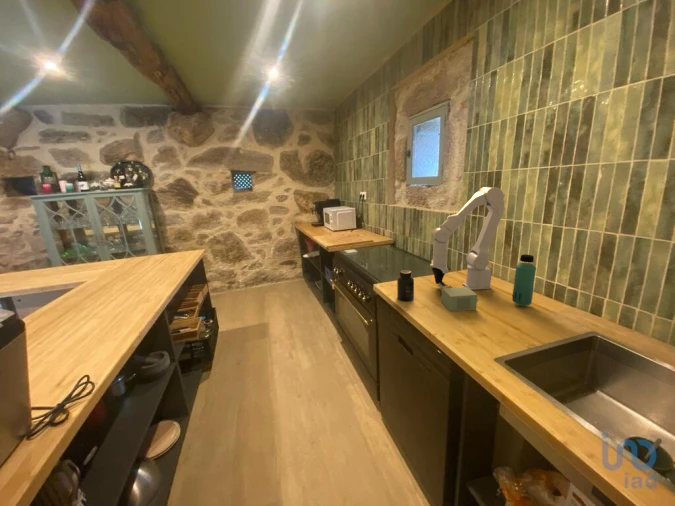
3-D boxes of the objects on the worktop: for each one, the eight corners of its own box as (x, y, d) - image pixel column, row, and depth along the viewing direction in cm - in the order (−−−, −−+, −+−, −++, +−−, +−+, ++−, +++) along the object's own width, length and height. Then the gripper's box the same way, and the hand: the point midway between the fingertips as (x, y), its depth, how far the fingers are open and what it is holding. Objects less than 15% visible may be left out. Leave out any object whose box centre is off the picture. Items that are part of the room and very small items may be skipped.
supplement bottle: (414, 295, 120) (415, 269, 117) (413, 302, 113) (413, 274, 110) (398, 294, 122) (398, 268, 119) (396, 300, 116) (396, 273, 113)
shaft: (436, 289, 124) (436, 280, 123) (446, 289, 124) (446, 279, 123) (450, 303, 110) (450, 292, 109) (461, 302, 110) (462, 292, 109)
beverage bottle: (532, 304, 106) (539, 254, 101) (529, 311, 102) (536, 258, 97) (513, 300, 111) (519, 252, 106) (509, 306, 106) (515, 255, 101)
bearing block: (465, 300, 112) (466, 286, 111) (476, 309, 105) (477, 294, 103) (441, 302, 112) (442, 288, 111) (449, 311, 104) (450, 296, 103)
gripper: (425, 251, 131) (424, 278, 134) (437, 259, 117) (435, 289, 120) (440, 250, 131) (438, 277, 134) (453, 258, 117) (451, 288, 120)
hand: (438, 283), depth 127 cm, fingers closed
